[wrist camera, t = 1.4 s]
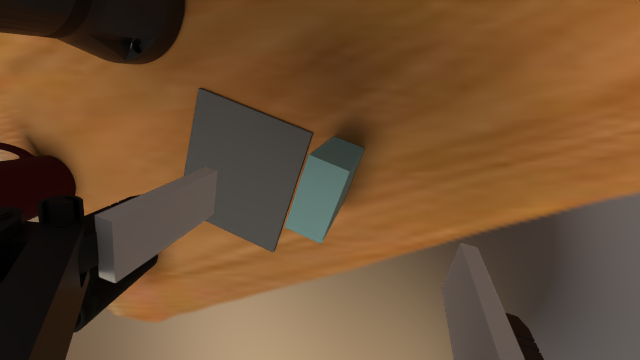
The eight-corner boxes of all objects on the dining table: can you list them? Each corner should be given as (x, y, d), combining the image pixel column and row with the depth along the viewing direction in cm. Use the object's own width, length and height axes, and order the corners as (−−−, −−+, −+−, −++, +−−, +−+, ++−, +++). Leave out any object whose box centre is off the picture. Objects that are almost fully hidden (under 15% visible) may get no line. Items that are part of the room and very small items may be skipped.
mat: (180, 206, 41) (178, 208, 40) (201, 88, 35) (198, 88, 34) (274, 250, 39) (273, 252, 38) (313, 133, 33) (311, 133, 33)
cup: (115, 223, 45) (20, 269, 34) (159, 230, 43) (73, 280, 32) (125, 269, 47) (39, 326, 36) (167, 277, 45) (90, 339, 34)
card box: (312, 192, 35) (283, 226, 27) (332, 135, 32) (307, 153, 24) (342, 205, 35) (321, 243, 26) (364, 148, 32) (349, 171, 24)
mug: (11, 145, 46) (-102, 163, 36) (42, 120, 43) (-71, 131, 33) (56, 215, 48) (-39, 250, 38) (90, 196, 45) (-4, 229, 34)
